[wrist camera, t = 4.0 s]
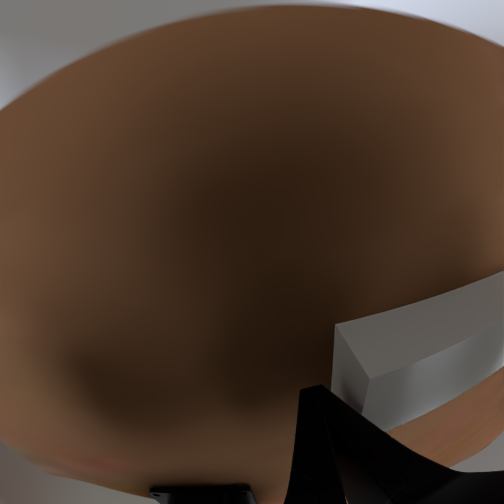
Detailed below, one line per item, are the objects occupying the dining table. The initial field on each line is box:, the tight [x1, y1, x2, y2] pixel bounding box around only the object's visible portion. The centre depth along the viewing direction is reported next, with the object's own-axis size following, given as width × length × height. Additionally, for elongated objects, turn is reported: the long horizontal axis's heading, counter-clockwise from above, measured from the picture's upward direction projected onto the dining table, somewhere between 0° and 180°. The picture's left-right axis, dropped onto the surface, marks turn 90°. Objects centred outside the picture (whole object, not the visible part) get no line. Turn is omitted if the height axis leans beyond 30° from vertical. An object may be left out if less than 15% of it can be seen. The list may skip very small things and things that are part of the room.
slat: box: [331, 270, 504, 432], centre depth 9 cm, size 4×12×3 cm, turn 97°
